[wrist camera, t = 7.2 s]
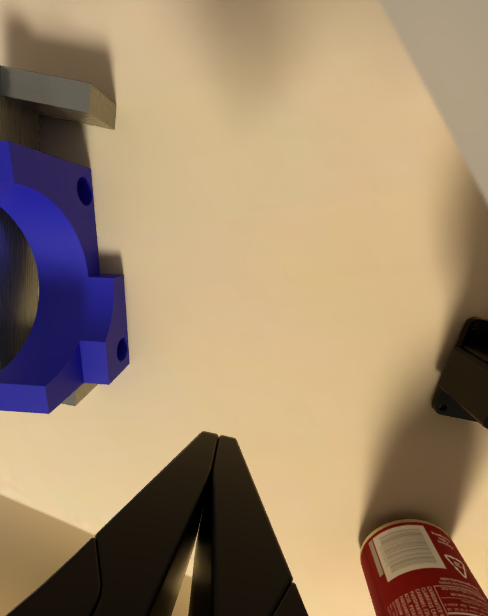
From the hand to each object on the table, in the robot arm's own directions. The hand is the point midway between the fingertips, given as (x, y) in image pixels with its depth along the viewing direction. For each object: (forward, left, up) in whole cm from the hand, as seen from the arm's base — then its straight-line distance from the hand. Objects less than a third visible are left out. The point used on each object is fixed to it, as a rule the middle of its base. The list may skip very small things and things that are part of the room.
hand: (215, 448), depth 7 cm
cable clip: (+10, -1, -12) cm, 16 cm away
